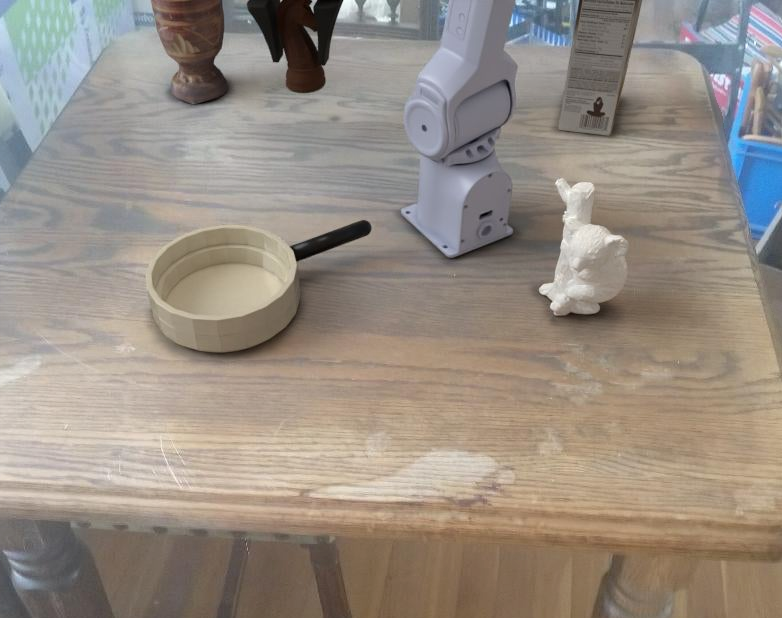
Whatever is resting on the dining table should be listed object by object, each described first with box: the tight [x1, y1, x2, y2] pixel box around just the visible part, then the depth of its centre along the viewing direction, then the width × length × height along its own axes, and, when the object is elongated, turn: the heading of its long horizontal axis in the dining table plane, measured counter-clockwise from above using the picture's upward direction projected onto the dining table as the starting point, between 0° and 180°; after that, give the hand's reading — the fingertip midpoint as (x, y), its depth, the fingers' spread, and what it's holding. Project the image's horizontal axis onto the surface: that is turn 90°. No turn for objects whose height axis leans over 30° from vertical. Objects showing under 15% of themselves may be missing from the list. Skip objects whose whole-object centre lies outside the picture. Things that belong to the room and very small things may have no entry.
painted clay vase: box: [150, 0, 229, 105], centre depth 106 cm, size 12×9×20 cm
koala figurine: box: [538, 177, 630, 317], centre depth 77 cm, size 8×7×12 cm
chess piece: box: [276, 0, 327, 94], centre depth 96 cm, size 5×5×10 cm
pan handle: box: [289, 219, 373, 263], centre depth 84 cm, size 10×2×2 cm, turn 118°
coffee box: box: [557, 0, 643, 137], centre depth 98 cm, size 9×6×16 cm
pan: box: [144, 223, 301, 354], centre depth 82 cm, size 14×14×4 cm
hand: (301, 60), depth 97 cm, fingers closed on chess piece, 5 cm apart
